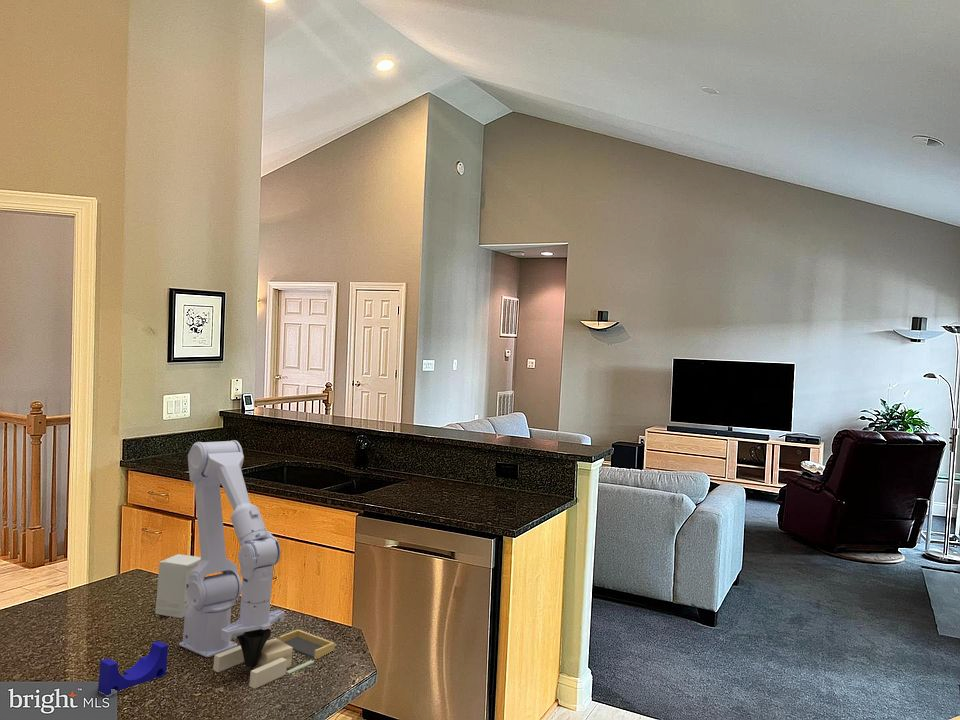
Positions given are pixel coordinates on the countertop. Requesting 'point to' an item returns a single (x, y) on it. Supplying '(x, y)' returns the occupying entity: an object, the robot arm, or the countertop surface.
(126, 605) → the countertop surface
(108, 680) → the blue arch block
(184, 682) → the countertop surface
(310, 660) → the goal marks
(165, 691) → the countertop surface
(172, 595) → the supplement box
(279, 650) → the beech block
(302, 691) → the countertop surface
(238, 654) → the cream parallel guide rails
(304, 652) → the open-sided tray
